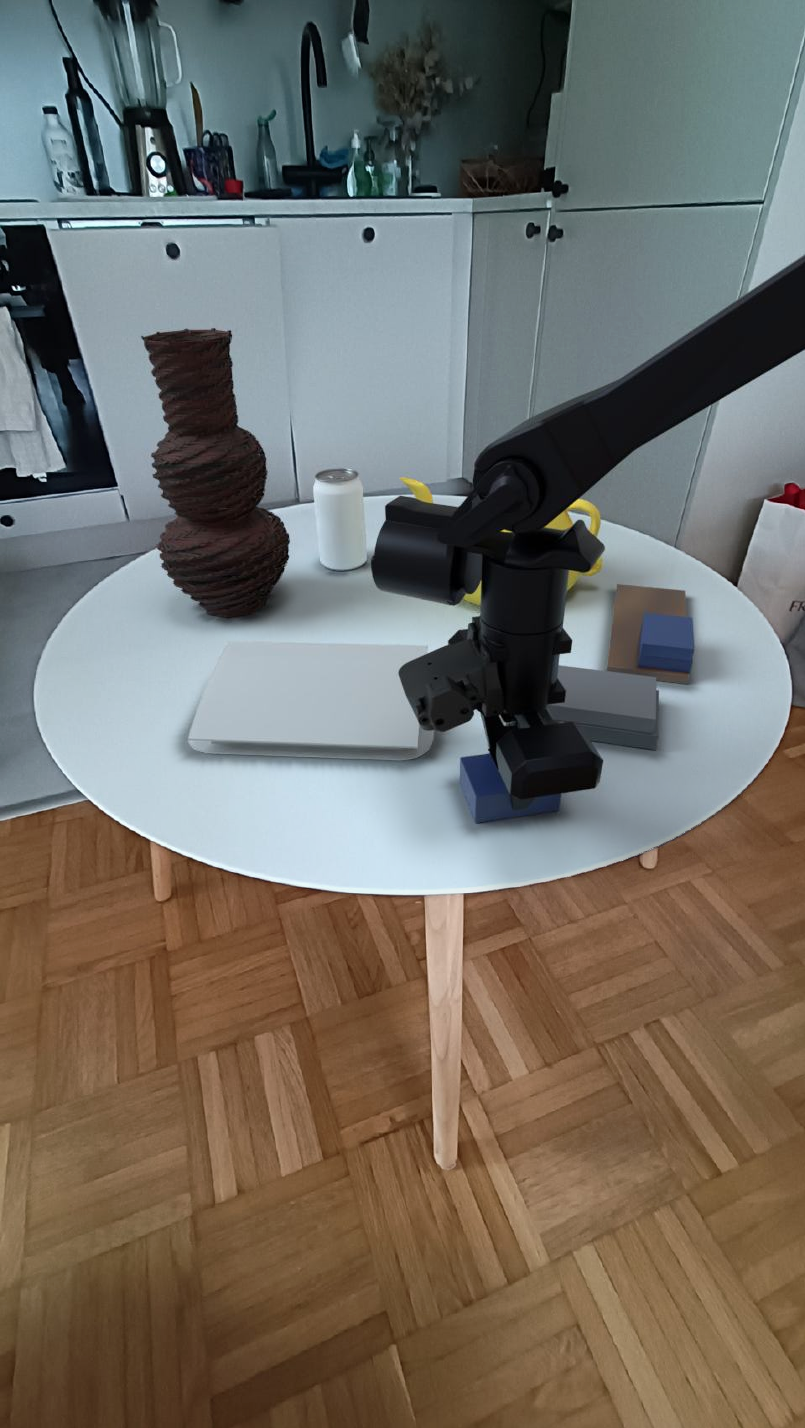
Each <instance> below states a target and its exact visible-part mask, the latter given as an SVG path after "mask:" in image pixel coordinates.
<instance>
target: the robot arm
mask: <svg viewBox="0 0 805 1428" xmlns="http://www.w3.org/2000/svg"><path fill="white" fill-rule="evenodd" d="M803 351H805V254H803V255H802V256H800V257H799V258H797V259H796V260H794V261H793V262H791V263H790V264H788V265H786V266H785V267H784V268H782V269H780V270H779V271H777V272H776V273H775V274H773V275H772V276H770V277H768V278H767V279H766V280H765V281H763V282H761V283H760V284H759V285H757V286H755V287H754V288H752V289H751V290H749V291H748V292H747V293H745V294H744V295H742V296H740V297H739V298H737V299H736V300H735V301H733V302H732V303H730V304H729V305H728V306H726V307H724V308H722V309H721V310H720V311H718V312H717V313H715V314H714V315H712V316H710V318H708V319H706V320H705V321H704V322H702V323H701V324H699V325H697V326H696V327H695V328H693V329H692V330H690V331H689V332H687V333H686V334H684V335H682V336H681V337H680V338H678V339H677V340H675V341H674V342H671V344H669V345H668V346H666V347H665V348H663V349H662V350H661V351H659V352H657V353H656V354H654V355H653V356H651V357H650V358H648V359H647V360H645V361H644V362H643V363H641V364H639V365H638V366H637V367H635V368H634V369H632V370H631V371H629V372H627V373H626V374H625V375H623V376H622V377H620V378H618V379H616V380H614V381H611V382H609V383H607V384H605V385H603V386H601V387H598V388H596V389H593V390H591V391H588V392H585V393H583V394H580V395H578V396H576V397H573V398H571V399H568V400H566V401H564V402H561V403H559V404H557V405H555V406H553V407H551V408H549V409H546V410H544V411H542V412H540V413H538V414H535V415H533V416H531V417H529V418H527V419H526V420H524V421H522V422H521V423H520V424H518V425H516V426H515V427H513V428H512V429H511V430H509V431H507V432H505V433H504V434H503V435H501V436H499V438H497V439H496V440H494V441H492V442H491V443H489V444H488V445H487V446H486V447H485V448H484V449H483V450H482V451H481V452H480V453H479V454H478V456H477V457H476V460H475V461H474V464H473V466H474V470H473V475H472V487H473V489H472V490H471V491H470V493H468V495H467V496H466V498H465V499H464V500H463V502H461V504H460V505H459V506H454V505H447V504H440V503H434V502H433V503H427V502H423V501H421V500H418V499H416V497H411V496H406V495H405V496H404V495H399V496H397V497H396V498H394V499H393V500H391V501H389V502H388V503H386V504H385V506H384V515H385V518H384V519H385V520H384V521H383V523H382V525H381V527H380V530H379V532H378V535H377V538H376V541H375V546H374V551H373V552H374V553H373V555H372V556H371V559H370V570H371V576H372V580H373V583H374V585H375V586H376V588H377V589H378V590H380V591H381V592H384V593H389V594H394V595H399V596H402V597H403V596H405V597H409V598H413V599H419V600H422V601H423V600H424V601H428V602H432V603H433V602H434V603H437V604H443V605H447V606H457V605H458V604H460V603H461V602H462V601H463V600H464V599H463V597H464V596H465V594H473V593H474V592H475V591H476V590H477V588H478V586H479V584H480V582H481V604H480V606H479V607H480V608H479V609H480V610H479V616H472V617H471V622H468V623H467V628H464V629H463V628H462V629H458V630H457V631H456V632H455V633H454V634H453V635H452V636H451V637H450V638H448V639H447V644H446V645H443V646H441V647H438V648H437V649H434V650H432V651H430V652H427V654H425V655H423V656H421V657H418V658H416V659H414V660H412V661H409V662H407V663H405V664H404V665H403V666H402V667H401V668H400V669H399V672H398V674H399V677H400V680H401V683H402V686H403V689H404V692H405V695H406V697H407V699H408V701H409V703H410V705H411V708H412V710H413V712H414V714H415V716H416V718H417V720H418V722H419V724H420V726H421V728H422V729H423V730H426V731H432V730H434V731H435V732H439V733H445V732H448V731H451V730H453V729H455V728H457V727H459V726H462V725H464V724H466V723H468V722H470V721H471V720H473V717H474V715H475V710H476V711H477V712H478V713H480V718H481V721H482V726H483V729H484V734H485V739H486V743H487V746H488V748H487V751H488V753H490V755H491V757H492V760H493V762H494V764H495V766H496V768H497V770H498V771H499V773H500V774H501V776H502V779H503V781H504V783H505V785H506V787H507V789H508V792H509V794H510V799H511V805H512V808H513V810H514V811H518V810H524V809H526V808H527V807H528V806H529V805H530V804H531V803H532V802H533V801H534V799H535V798H536V797H541V796H548V795H554V794H561V793H562V794H568V793H574V792H580V791H589V790H594V789H596V788H597V787H598V785H599V783H601V777H602V770H603V764H604V759H603V758H602V756H601V755H600V753H599V752H598V750H597V749H596V747H595V745H594V744H593V741H591V740H590V739H589V738H588V736H587V735H586V733H585V732H584V730H582V729H581V728H580V727H579V726H577V725H576V724H575V723H574V722H573V721H572V722H565V723H564V722H561V721H555V720H554V719H553V718H552V716H551V714H550V713H549V711H548V710H547V705H549V704H557V703H564V702H565V697H566V690H565V688H564V687H563V685H562V684H561V682H560V681H559V679H558V678H557V674H558V666H559V665H560V664H559V663H560V658H561V657H560V656H561V655H564V654H571V653H572V647H573V639H572V637H571V636H570V635H569V634H568V633H567V631H566V630H565V628H564V621H565V613H566V612H565V611H566V602H567V593H568V591H567V586H568V577H569V570H571V571H577V572H583V573H586V572H589V571H590V570H591V568H592V567H593V566H594V564H595V563H596V562H597V560H598V559H599V558H600V556H601V557H602V555H603V554H604V552H605V550H606V546H605V544H604V543H603V542H602V541H601V540H600V539H599V538H598V536H597V537H596V536H595V535H593V534H592V533H591V532H590V531H589V530H590V529H589V528H588V527H587V525H586V523H585V521H584V520H583V519H577V520H576V521H574V522H573V525H572V526H571V527H570V528H568V529H565V530H559V529H552V528H546V527H545V526H547V525H548V524H549V523H550V522H551V521H553V520H554V519H555V518H556V517H557V516H559V515H560V514H561V513H562V512H563V511H565V510H566V509H567V508H568V507H569V506H570V505H572V504H573V503H574V502H575V501H576V500H578V499H581V497H582V496H584V495H585V494H586V493H587V492H588V491H590V489H592V488H593V487H594V486H596V485H597V483H599V482H600V481H602V479H603V478H604V477H606V476H607V475H608V474H609V473H610V472H612V470H614V468H616V467H617V466H618V465H619V464H621V462H623V461H624V460H625V459H626V458H628V457H629V456H630V455H631V454H632V453H634V452H635V451H636V450H638V449H640V448H641V447H642V446H644V445H646V444H648V443H649V442H651V441H653V440H655V439H656V438H658V437H659V436H661V435H663V434H665V433H666V432H668V431H670V430H672V429H673V428H674V427H676V426H678V425H680V424H681V423H684V422H685V421H687V420H689V419H690V418H691V417H693V416H695V415H697V414H699V413H700V412H702V411H703V410H706V409H707V408H708V407H710V406H712V405H713V404H716V403H717V402H719V401H721V400H722V399H724V398H725V397H727V396H729V395H731V394H732V393H734V392H735V391H738V390H739V389H741V388H742V387H744V386H746V385H747V384H749V383H751V382H753V381H754V380H756V379H758V378H759V377H762V376H763V375H765V374H766V373H768V372H770V371H771V370H773V369H775V368H776V367H778V366H780V365H781V364H783V363H785V362H787V361H789V360H790V359H792V358H793V357H795V356H797V355H798V354H800V353H802V352H803ZM503 530H507V531H510V532H502V531H503ZM562 794H561V795H562Z"/></svg>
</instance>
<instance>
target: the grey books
mask: <svg viewBox="0 0 805 1428" xmlns="http://www.w3.org/2000/svg"><path fill="white" fill-rule="evenodd" d="M557 678H558V679H559V681H560V682H561V684H562V685H563V687H564V688H565V690H566V697H565V702H564V703H557V704H549V705H547V710H548V711H549V713H550V714H551V716H552V718H553V719H554V720H555V721H561V722H564V723H565V722H572V721H573V722H574V723H575V724H576V725H577V726H579V727H580V728H581V729H582V730H584V732H585V733H586V735H587V736H588V738H589V739H590V741H591V742H598V743H605V744H611V745H617V746H618V745H619V746H624V747H631V748H632V747H633V748H638V749H647V750H654V751H656V750H657V745H658V741H659V733H660V731H659V727H660V726H659V725H660V724H659V723H660V713H659V712H660V690H659V689H657V680H656V677H650V676H642V675H634V674H626V673H618V672H609V671H606V670H600V669H593V668H592V669H591V668H584V667H576V666H568V665H561V664H559V666H558V674H557Z"/></svg>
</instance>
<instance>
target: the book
mask: <svg viewBox="0 0 805 1428" xmlns="http://www.w3.org/2000/svg"><path fill="white" fill-rule="evenodd" d="M428 648H429V645H425V644H424V645H421V644H419V645H418V644H416V645H415V644H414V645H413V644H381V643H380V644H376V643H375V644H374V643H335V642H333V643H332V642H330V643H329V642H290V641H289V642H288V641H286V642H284V641H244V640H243V641H240V640H237V641H236V640H228V641H227V643H226V644H225V646H224V647H223V649H222V651H221V653H220V655H219V657H218V659H217V661H216V664H215V665H214V667H213V670H212V672H211V674H210V676H209V679H208V680H207V683H206V685H205V687H204V690H203V692H202V695H201V697H200V701H199V703H198V705H197V709H196V711H195V715H194V717H193V721H192V724H191V727H190V730H189V734H188V737H187V743H188V744H189V745H190V747H191V748H192V749H193V750H194V751H196V752H201V753H205V754H216V755H219V754H220V755H243V756H267V757H268V756H269V757H293V758H294V757H295V758H320V759H321V758H323V759H346V760H347V759H349V760H351V759H352V760H374V761H375V760H376V761H378V760H379V761H399V762H401V761H407V760H413V759H418V758H419V757H421V756H423V755H424V754H426V753H427V752H429V751H430V749H431V747H432V745H433V743H434V741H435V739H434V738H435V730H432V731H426V730H423V729H422V728H421V726H420V724H419V722H418V720H417V718H416V716H415V714H414V712H413V710H412V708H411V705H410V703H409V701H408V699H407V697H406V695H405V692H404V689H403V686H402V683H401V680H400V677H399V674H398V672H399V669H400V668H401V667H402V666H403V665H404V664H405V663H407V662H409V661H412V660H414V659H416V658H418V657H421V656H423V655H425V654H427V653H428Z"/></svg>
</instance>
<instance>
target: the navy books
mask: <svg viewBox="0 0 805 1428" xmlns="http://www.w3.org/2000/svg"><path fill="white" fill-rule="evenodd" d="M693 621H694V620H693V617H690V616H687V617H682V616H672V615H662V614H652V613H644V615H643V620H642V625H641V630H640V638H639V656H638V667H641V668H650V669H658V670H666V671H674V672H683V673H690V674H691V670H692V666H693V657H694V653H695V638H694V622H693Z"/></svg>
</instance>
